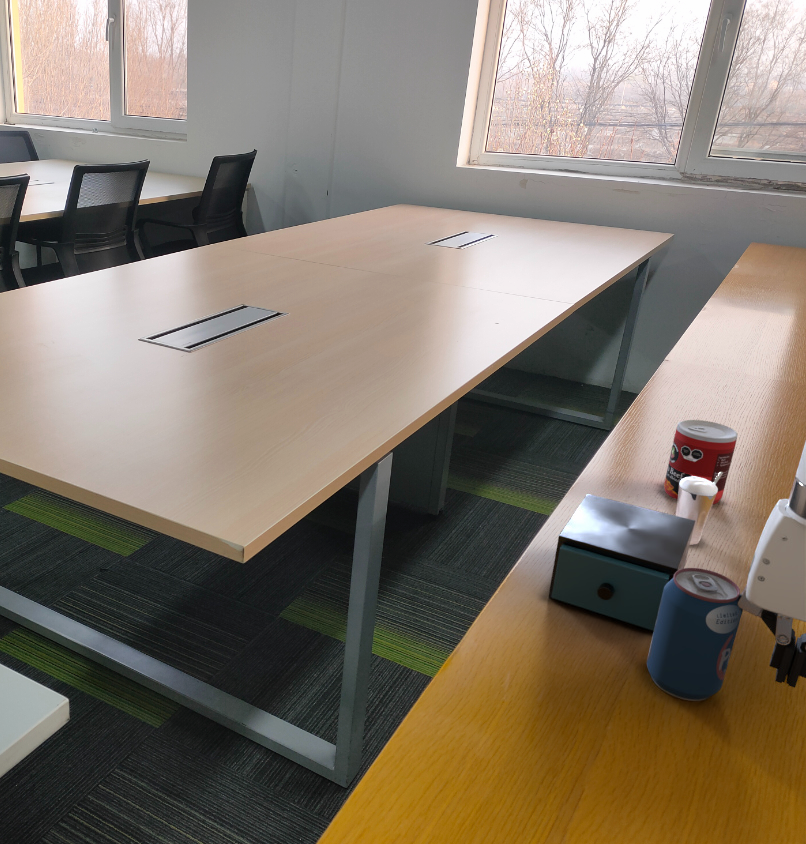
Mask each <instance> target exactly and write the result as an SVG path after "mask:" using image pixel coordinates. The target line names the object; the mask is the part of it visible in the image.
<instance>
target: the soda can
mask: <svg viewBox="0 0 806 844" xmlns="http://www.w3.org/2000/svg"><path fill="white" fill-rule="evenodd" d="M740 594H741V589H740V587H739V585H738V584H736V583H735V582H734V581H733V580H732V579H730V578H728V577H727V576H725V575H723V574H721V573H718V572H715V571H712V570H709V569H705V568H699V567H684V569H680V570H678V571H677V572H676V573H675V574H674V577H673V578H672V579H671V580H670V581H669V582H668V583H667V584H666V585H665V587H664V590H663V594H662V599H661V603H660V607H659V611H658V616H657V620H656V624H655V628H654V632H653V633H652V637H651V642H650V644H649V645H650V646H649V649H648V655H647V658H646V667H647V671H648V673H649V675H650V677H651V679H652V681H653V683H654V685H656V686H657V687H658V688H659V689H660V690H662V691H663V692H665V693H666V694H668V695H670V696H672V697H674V698H676V699H681V700H684V701H691V702H700V701H701V702H702V701H705V700H707V699H709V698H711V697H713V695H716V694H717V693H718V692H719V691H720V690H721V688H722V687H723V684H724V681H725V676H726V673H727V670H728V666H729V662H730V659H731V654H732V652H733V648H734V643H735V640H736V637H737V633H738V630H739V626H740V622H741V619H742V615H743V612H744V610H743V609H741V608H739V607H738V604H737V603H738V599H739V595H740Z"/></svg>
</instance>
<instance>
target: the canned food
mask: <svg viewBox="0 0 806 844" xmlns="http://www.w3.org/2000/svg"><path fill="white" fill-rule="evenodd" d="M737 440H738V432H737V431H736V430H735V429H733V428H731V427H729V426H726V425H725V424H722V423H718V422H714V421H708V420H700V419H688V420H687V419H686V420H682V421H679V422H678V423H677V425H676V428H675V433H674V437H673V442H672V445H671V450H670V455H669V459H668V465H667V469H666V474H665V479H664V483H663V486H664V492H665V493H666V494H667V495H668V496H669V497H671V498H672V499H675V500H677V501H678V491H679V483H680V480H681V479H683V478H685V477H691V476H696V477H700V478H704V479H707V480H709V481H711V482H712V483H713V482H714V481H715V479H716V478H717V476H718V475H719V473H720V472H723V474H722V475H721V477H720V478H719V480H718V482H717V483H716V487H717V488H718V492H717V494H716V497H715V499H714V502H713V504H712V506H714V505H716V504H718V503H719V502H720V501H721V499H722V498H723V495H724V492H725V488H726V483H727V480H728V476H729V472H730V468H731V464H732V460H733V456H734V452H735V448H736V445H737Z"/></svg>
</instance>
